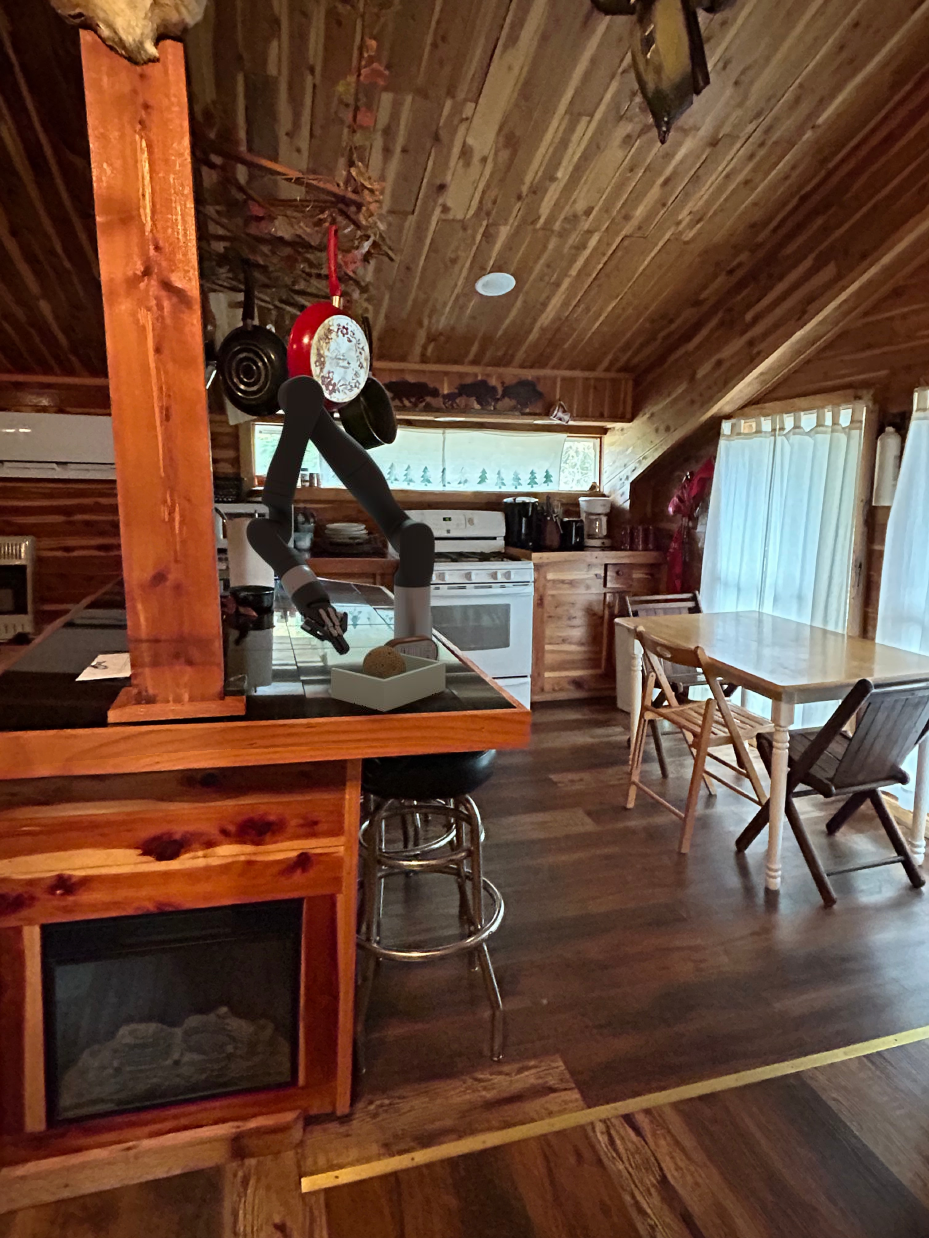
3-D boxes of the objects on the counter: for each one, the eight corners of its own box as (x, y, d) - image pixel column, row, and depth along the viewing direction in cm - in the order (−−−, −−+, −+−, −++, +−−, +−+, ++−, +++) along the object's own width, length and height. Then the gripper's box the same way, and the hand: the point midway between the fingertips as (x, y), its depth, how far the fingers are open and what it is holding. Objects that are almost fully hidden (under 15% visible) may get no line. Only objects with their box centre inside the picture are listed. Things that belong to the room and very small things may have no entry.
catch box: (393, 678, 168) (393, 651, 167) (445, 690, 160) (445, 662, 159) (331, 697, 153) (330, 668, 152) (384, 711, 145) (384, 681, 144)
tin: (432, 667, 178) (432, 632, 177) (440, 670, 176) (440, 634, 174) (377, 676, 169) (377, 639, 168) (385, 679, 167) (385, 642, 165)
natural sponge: (383, 684, 163) (383, 639, 161) (415, 691, 158) (415, 645, 156) (353, 693, 156) (353, 646, 154) (386, 701, 151) (386, 653, 149)
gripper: (289, 583, 160) (331, 647, 155) (334, 576, 170) (375, 637, 166) (273, 604, 164) (314, 668, 159) (319, 597, 175) (358, 656, 170)
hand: (345, 652), depth 163 cm, fingers closed
